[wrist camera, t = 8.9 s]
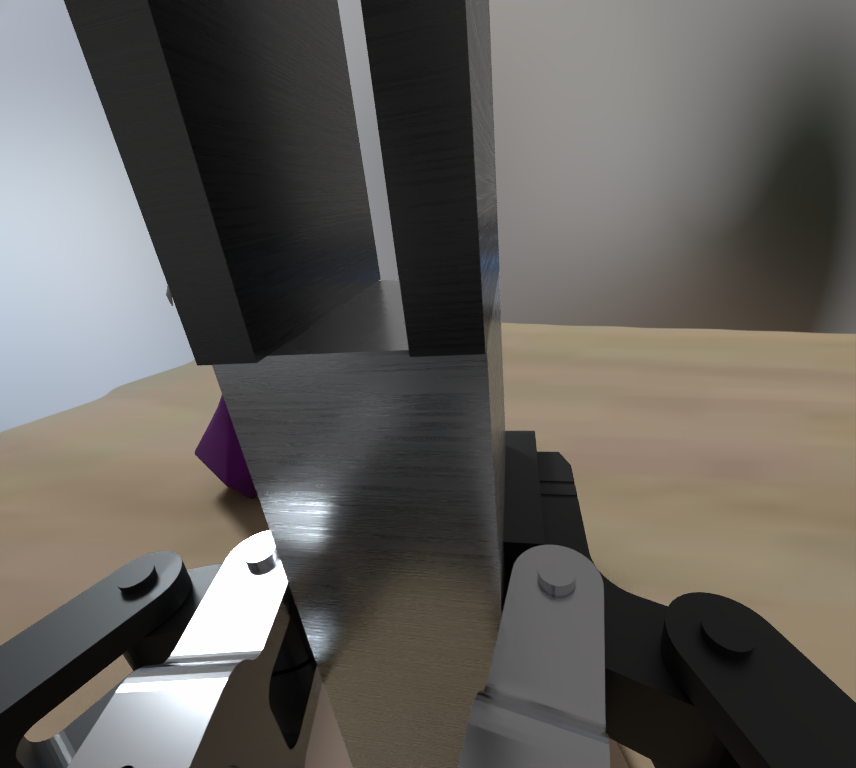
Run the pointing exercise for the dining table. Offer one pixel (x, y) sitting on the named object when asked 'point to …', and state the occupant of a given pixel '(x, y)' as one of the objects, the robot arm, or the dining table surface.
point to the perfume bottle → (224, 449)
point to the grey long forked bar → (339, 320)
